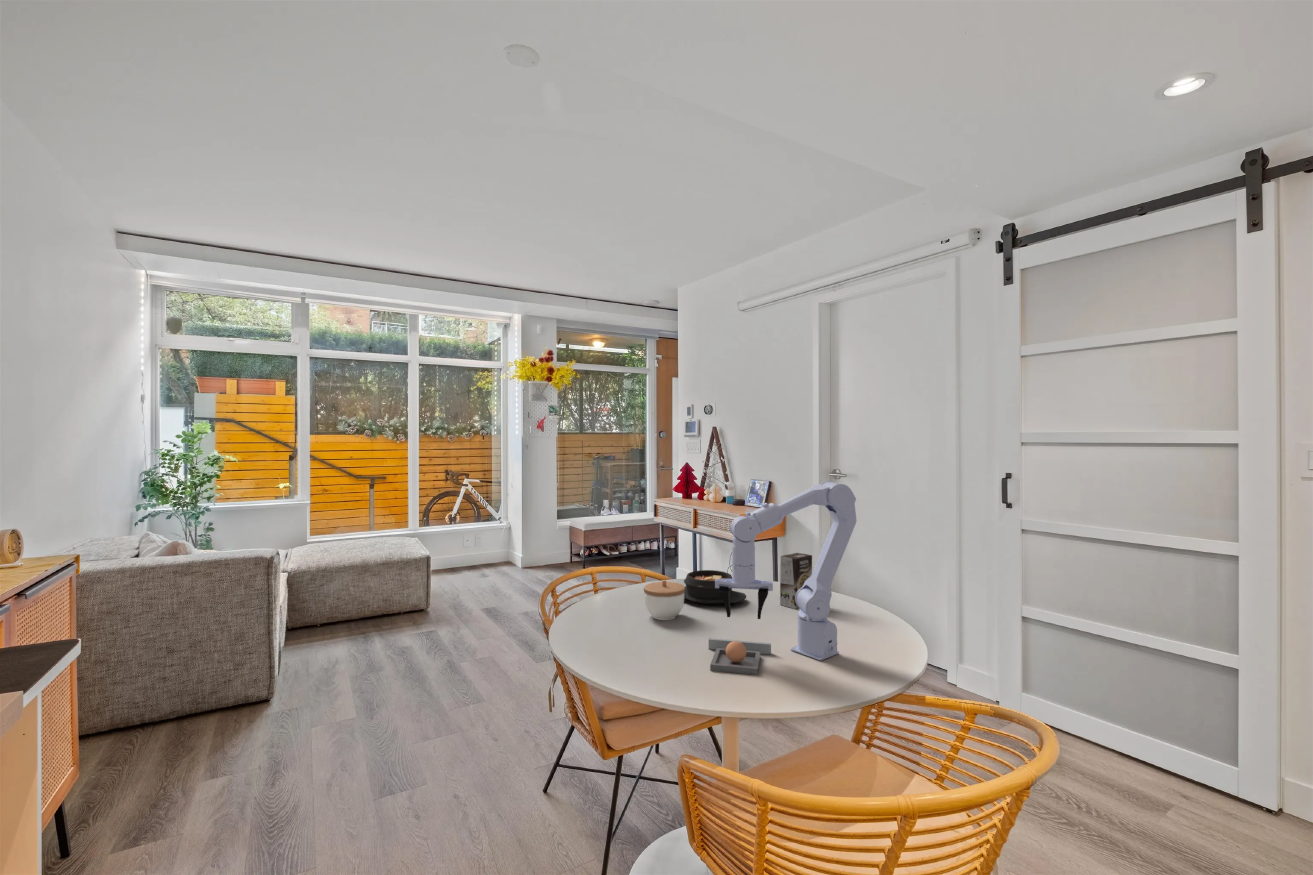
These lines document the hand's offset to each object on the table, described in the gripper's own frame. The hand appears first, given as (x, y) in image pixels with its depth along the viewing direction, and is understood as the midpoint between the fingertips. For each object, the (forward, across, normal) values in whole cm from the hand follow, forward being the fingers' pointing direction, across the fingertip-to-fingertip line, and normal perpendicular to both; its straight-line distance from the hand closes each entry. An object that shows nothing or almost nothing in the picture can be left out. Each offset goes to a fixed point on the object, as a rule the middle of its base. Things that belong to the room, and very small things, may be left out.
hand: (743, 616), depth 153 cm
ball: (+9, +1, +7) cm, 12 cm away
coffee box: (+10, -13, -46) cm, 49 cm away
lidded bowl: (+10, +26, -25) cm, 37 cm away
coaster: (+9, +1, +7) cm, 12 cm away
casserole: (+10, +15, -45) cm, 49 cm away
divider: (+9, +1, -1) cm, 9 cm away
